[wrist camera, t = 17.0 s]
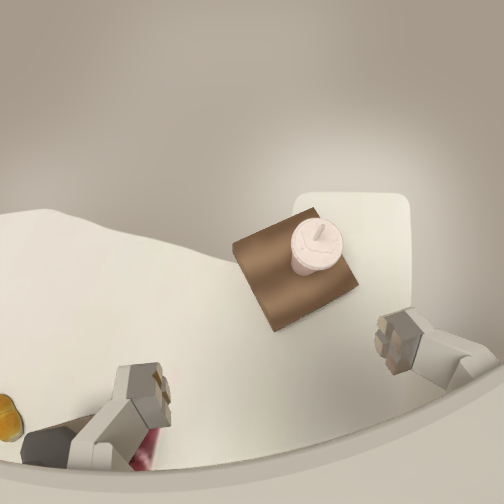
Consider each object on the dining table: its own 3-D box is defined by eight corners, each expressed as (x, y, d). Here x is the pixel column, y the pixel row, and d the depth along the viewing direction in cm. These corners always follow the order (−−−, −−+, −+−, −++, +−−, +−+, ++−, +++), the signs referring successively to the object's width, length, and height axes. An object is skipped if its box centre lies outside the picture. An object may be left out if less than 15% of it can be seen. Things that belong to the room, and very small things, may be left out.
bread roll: (6, 386, 41) (-7, 386, 38) (30, 429, 40) (18, 432, 36) (-15, 406, 39) (-28, 406, 36) (8, 447, 37) (-4, 450, 34)
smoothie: (296, 234, 49) (316, 191, 35) (332, 257, 48) (365, 222, 34) (273, 269, 47) (286, 235, 34) (311, 293, 46) (339, 269, 33)
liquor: (72, 419, 41) (-61, 450, 13) (118, 408, 43) (-5, 448, 14) (93, 469, 39) (-19, 539, 10) (140, 460, 40) (47, 550, 12)
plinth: (350, 290, 51) (359, 284, 47) (273, 331, 48) (277, 329, 44) (308, 217, 54) (313, 207, 51) (232, 252, 52) (232, 243, 48)
